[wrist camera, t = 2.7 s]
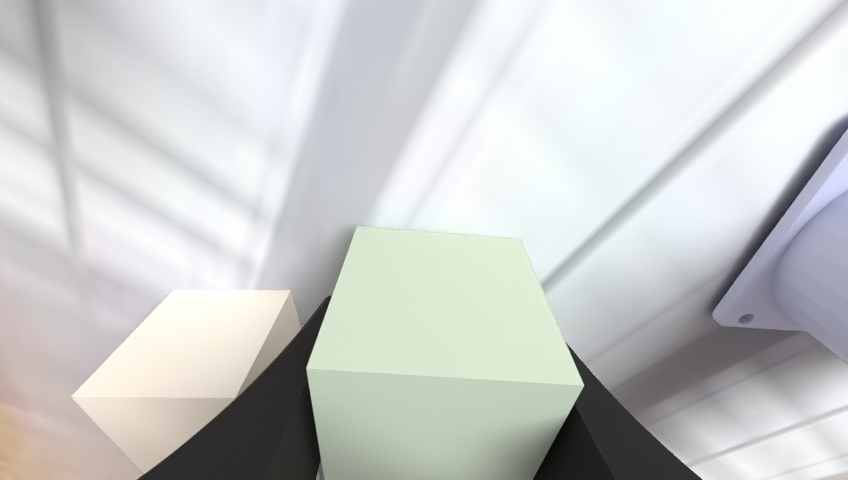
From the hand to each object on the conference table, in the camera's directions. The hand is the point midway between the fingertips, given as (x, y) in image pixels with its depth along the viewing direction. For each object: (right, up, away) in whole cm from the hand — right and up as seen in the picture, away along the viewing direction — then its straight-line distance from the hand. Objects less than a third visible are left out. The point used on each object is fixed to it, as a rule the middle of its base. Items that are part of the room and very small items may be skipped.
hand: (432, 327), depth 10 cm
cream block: (-8, -1, +4) cm, 9 cm away
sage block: (0, +1, +1) cm, 2 cm away
